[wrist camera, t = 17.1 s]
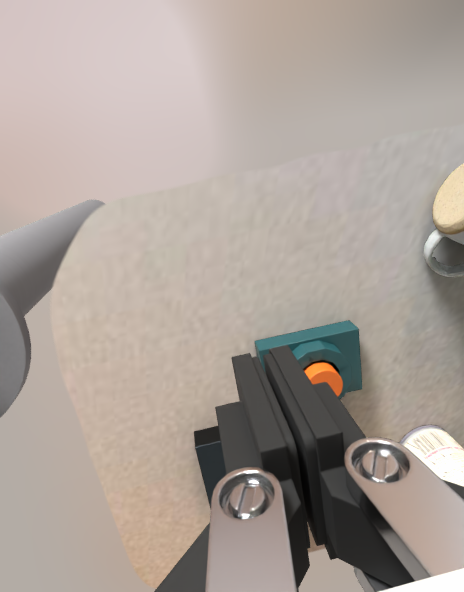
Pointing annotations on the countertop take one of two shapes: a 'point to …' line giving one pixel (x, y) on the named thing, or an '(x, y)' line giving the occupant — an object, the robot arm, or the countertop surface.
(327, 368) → the button
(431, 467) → the aerosol can
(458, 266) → the ceramic mug
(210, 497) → the control panel
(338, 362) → the button block
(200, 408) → the countertop surface
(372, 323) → the countertop surface
